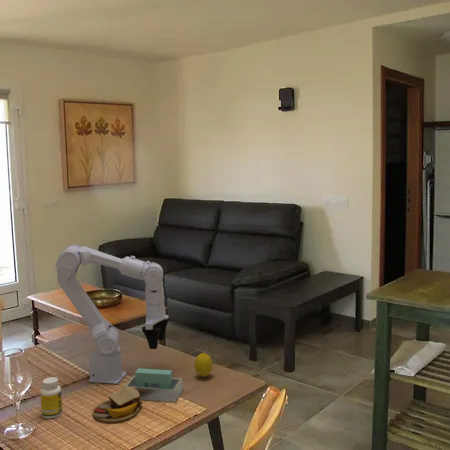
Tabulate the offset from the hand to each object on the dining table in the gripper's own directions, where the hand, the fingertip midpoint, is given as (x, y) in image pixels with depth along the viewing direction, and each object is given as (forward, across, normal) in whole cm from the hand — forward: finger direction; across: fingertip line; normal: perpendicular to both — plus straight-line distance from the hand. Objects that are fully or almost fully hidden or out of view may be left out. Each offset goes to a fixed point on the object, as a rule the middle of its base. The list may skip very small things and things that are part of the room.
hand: (157, 344), depth 165 cm
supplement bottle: (+10, -28, +22) cm, 37 cm away
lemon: (+11, +1, -14) cm, 18 cm away
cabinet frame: (+10, -13, -2) cm, 17 cm away
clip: (+10, -13, -3) cm, 16 cm away
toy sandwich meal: (+11, -24, +4) cm, 26 cm away
